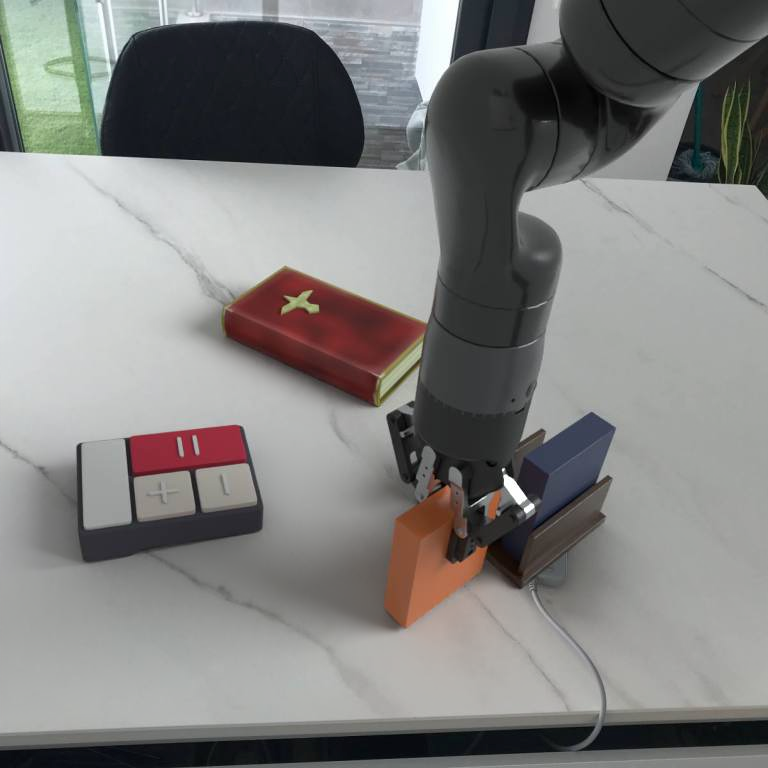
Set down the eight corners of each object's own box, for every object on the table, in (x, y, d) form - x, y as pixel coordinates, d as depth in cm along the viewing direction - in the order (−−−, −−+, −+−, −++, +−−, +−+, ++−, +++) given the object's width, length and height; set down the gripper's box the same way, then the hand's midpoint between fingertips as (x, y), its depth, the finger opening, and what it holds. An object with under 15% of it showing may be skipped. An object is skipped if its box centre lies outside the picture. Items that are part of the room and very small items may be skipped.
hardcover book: (376, 409, 82) (379, 378, 79) (222, 337, 90) (220, 307, 87) (430, 353, 90) (435, 324, 88) (285, 292, 98) (285, 263, 95)
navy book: (584, 514, 72) (616, 427, 65) (521, 563, 67) (549, 475, 60) (562, 498, 73) (591, 411, 66) (499, 544, 68) (523, 456, 61)
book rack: (604, 521, 72) (621, 479, 69) (521, 589, 66) (535, 545, 62) (500, 444, 79) (511, 401, 76) (416, 498, 73) (423, 454, 69)
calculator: (264, 502, 66) (76, 529, 61) (263, 535, 69) (82, 564, 64) (243, 418, 74) (74, 436, 69) (242, 450, 77) (80, 470, 72)
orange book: (481, 571, 66) (504, 483, 59) (405, 629, 61) (420, 540, 54) (459, 552, 68) (479, 463, 61) (383, 607, 63) (395, 518, 56)
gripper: (362, 339, 51) (349, 512, 62) (522, 458, 44) (475, 631, 55) (442, 303, 56) (416, 471, 67) (600, 406, 48) (542, 576, 59)
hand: (443, 542), depth 61 cm, fingers closed on orange book, 2 cm apart
